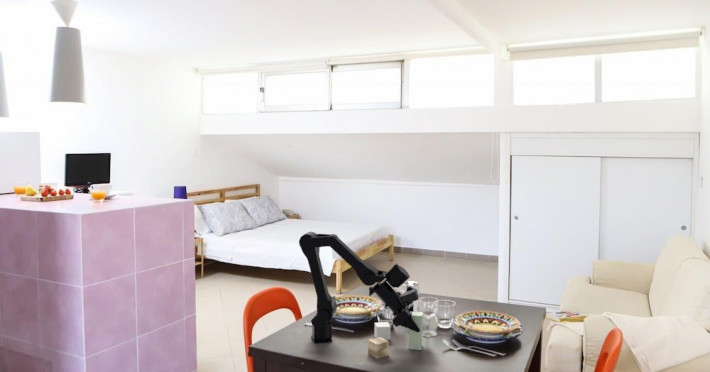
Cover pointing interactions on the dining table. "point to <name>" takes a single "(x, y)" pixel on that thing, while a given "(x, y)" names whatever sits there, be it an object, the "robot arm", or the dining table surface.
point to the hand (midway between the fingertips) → (419, 329)
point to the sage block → (416, 337)
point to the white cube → (382, 330)
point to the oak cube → (378, 347)
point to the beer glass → (414, 285)
